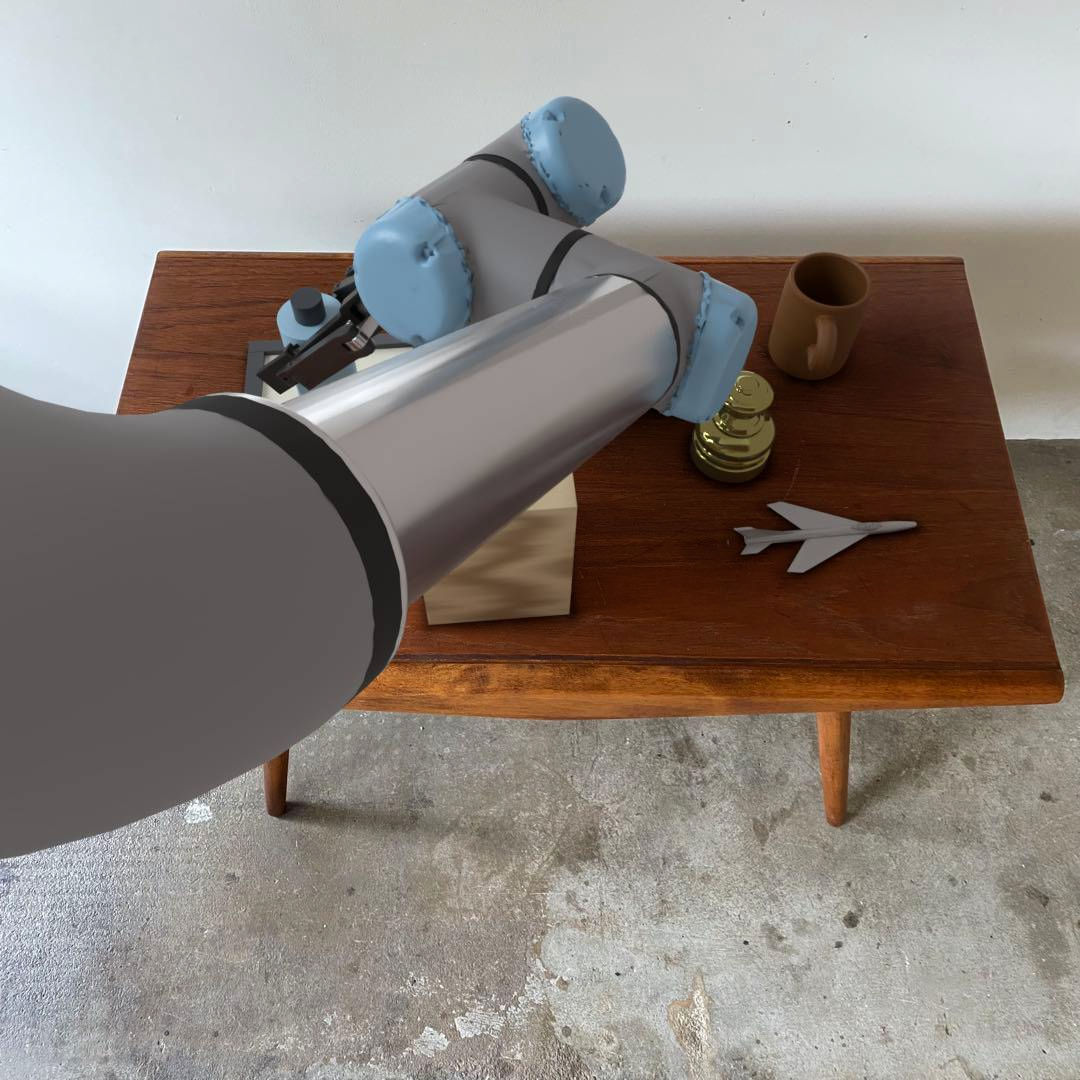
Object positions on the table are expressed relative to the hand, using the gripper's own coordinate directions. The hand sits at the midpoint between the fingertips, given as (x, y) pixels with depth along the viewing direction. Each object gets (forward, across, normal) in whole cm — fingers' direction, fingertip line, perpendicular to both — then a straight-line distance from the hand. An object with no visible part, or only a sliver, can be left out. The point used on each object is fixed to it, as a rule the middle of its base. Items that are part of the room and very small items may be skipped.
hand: (286, 356), depth 86 cm
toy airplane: (-28, +2, -41) cm, 49 cm away
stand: (-10, -9, -22) cm, 26 cm away
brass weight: (-22, +9, -35) cm, 42 cm away
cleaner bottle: (-1, 0, -5) cm, 5 cm away
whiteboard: (+4, +2, -8) cm, 10 cm away
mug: (-25, +22, -39) cm, 51 cm away
